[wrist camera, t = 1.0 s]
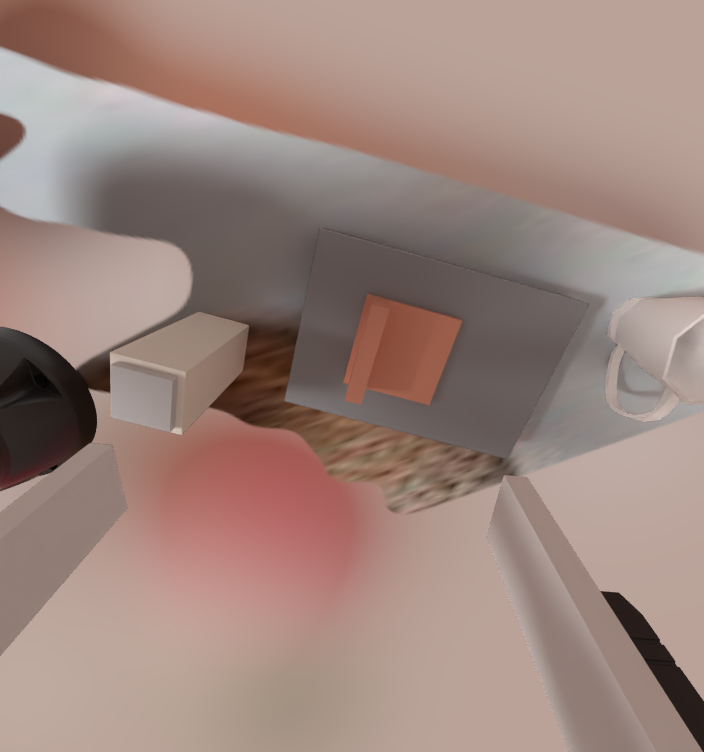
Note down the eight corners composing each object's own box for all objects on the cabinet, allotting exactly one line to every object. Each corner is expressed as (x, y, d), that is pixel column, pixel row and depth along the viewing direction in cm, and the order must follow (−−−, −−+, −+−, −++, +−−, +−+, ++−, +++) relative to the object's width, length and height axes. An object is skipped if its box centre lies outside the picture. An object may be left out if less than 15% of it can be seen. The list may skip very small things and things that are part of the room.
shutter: (343, 379, 29) (339, 399, 25) (367, 293, 26) (366, 302, 22) (428, 401, 29) (434, 424, 26) (460, 318, 26) (472, 331, 23)
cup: (704, 295, 27) (826, 319, 20) (626, 403, 31) (704, 457, 24) (622, 265, 27) (716, 279, 19) (553, 379, 31) (610, 426, 23)
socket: (292, 386, 33) (284, 401, 30) (325, 228, 27) (319, 228, 24) (496, 440, 33) (507, 459, 31) (568, 296, 28) (589, 304, 25)
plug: (194, 358, 32) (104, 422, 21) (198, 311, 30) (102, 355, 20) (242, 371, 32) (176, 440, 22) (249, 325, 31) (180, 376, 20)
